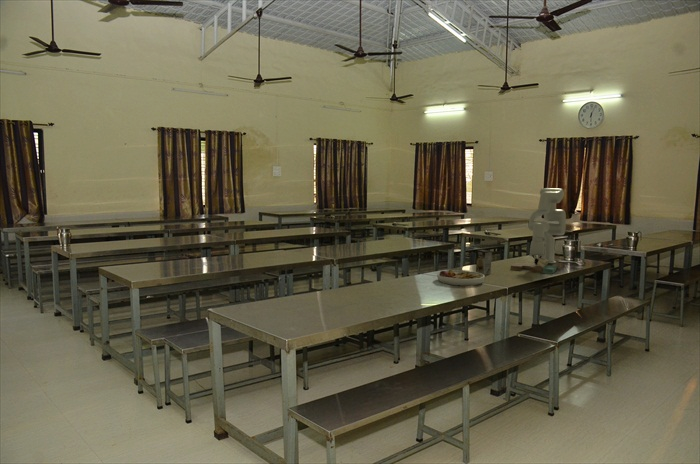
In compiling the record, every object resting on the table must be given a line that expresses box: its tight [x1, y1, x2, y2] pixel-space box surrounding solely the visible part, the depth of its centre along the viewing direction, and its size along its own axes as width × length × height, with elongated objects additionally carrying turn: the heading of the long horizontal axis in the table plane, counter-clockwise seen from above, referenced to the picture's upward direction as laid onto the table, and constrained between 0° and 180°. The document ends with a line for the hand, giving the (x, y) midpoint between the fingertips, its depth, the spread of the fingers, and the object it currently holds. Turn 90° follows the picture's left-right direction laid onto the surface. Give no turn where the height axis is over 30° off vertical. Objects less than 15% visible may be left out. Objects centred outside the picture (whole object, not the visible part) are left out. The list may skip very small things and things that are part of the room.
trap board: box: [510, 262, 558, 275], centre depth 388 cm, size 17×29×3 cm, turn 60°
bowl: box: [436, 269, 486, 287], centre depth 342 cm, size 30×30×8 cm
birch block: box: [537, 258, 549, 268], centre depth 383 cm, size 5×5×5 cm
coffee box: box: [475, 249, 493, 275], centre depth 372 cm, size 9×6×16 cm
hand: (536, 264), depth 386 cm, fingers closed
